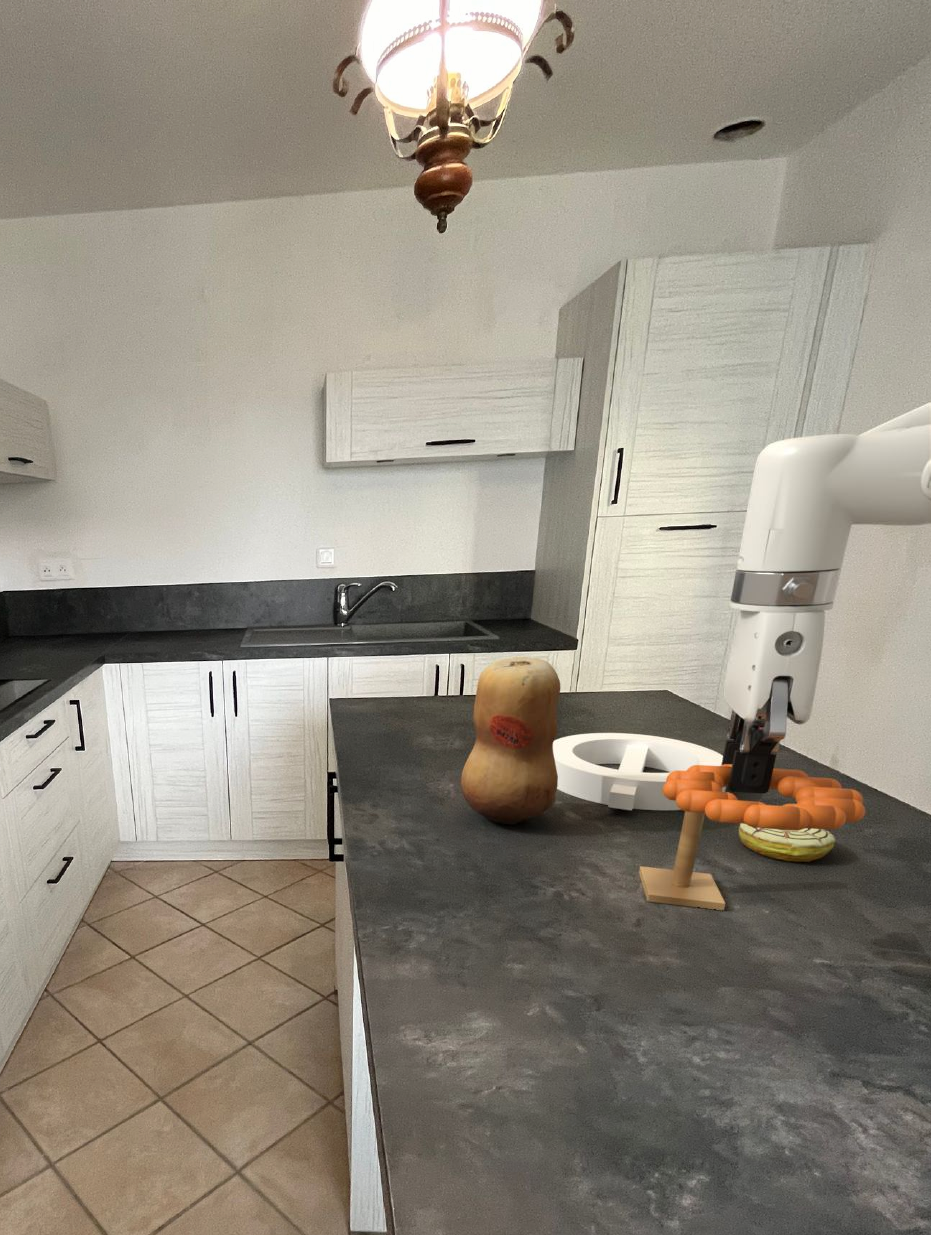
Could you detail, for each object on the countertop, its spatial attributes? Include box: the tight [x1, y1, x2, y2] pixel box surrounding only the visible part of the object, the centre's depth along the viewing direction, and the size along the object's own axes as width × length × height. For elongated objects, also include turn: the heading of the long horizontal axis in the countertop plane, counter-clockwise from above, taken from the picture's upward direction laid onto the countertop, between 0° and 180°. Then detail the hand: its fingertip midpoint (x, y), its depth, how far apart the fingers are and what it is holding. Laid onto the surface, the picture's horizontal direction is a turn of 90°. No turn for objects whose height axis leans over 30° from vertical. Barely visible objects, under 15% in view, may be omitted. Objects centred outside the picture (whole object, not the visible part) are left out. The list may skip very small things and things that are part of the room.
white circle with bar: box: [553, 732, 727, 811], centre depth 126 cm, size 28×28×5 cm
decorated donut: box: [738, 823, 836, 863], centre depth 99 cm, size 10×11×4 cm
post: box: [638, 811, 726, 912], centre depth 87 cm, size 8×8×15 cm
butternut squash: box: [460, 656, 561, 825], centre depth 108 cm, size 14×13×25 cm
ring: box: [662, 764, 866, 831], centre depth 66 cm, size 16×13×2 cm
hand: (742, 783), depth 71 cm, fingers closed on ring, 2 cm apart
